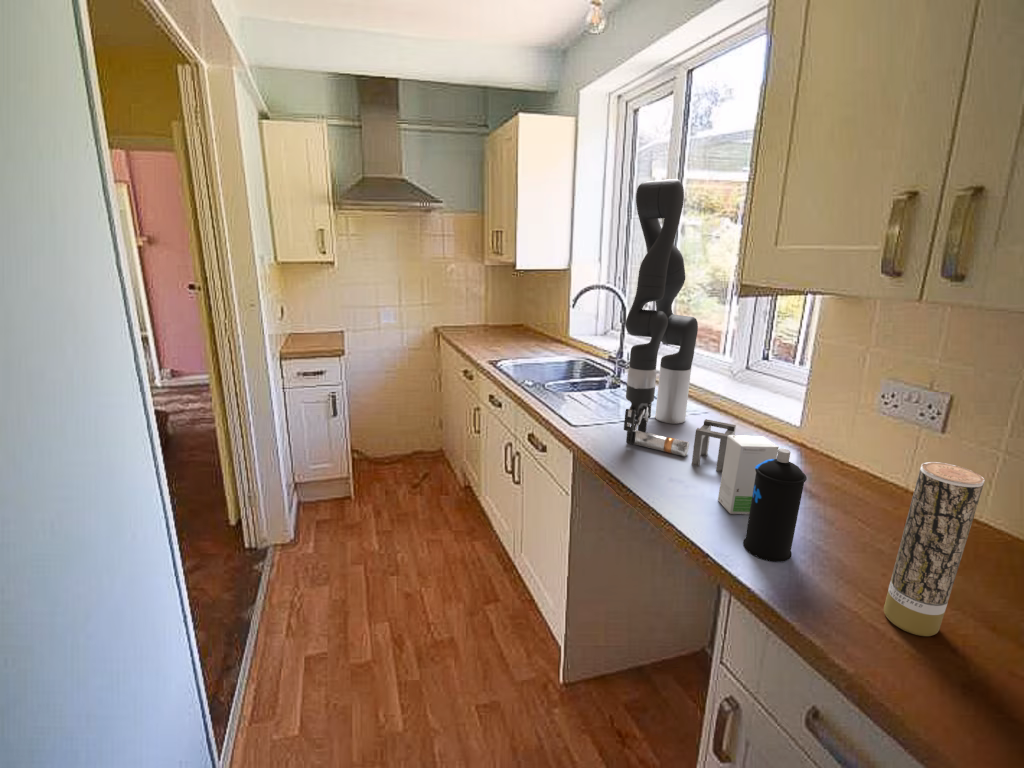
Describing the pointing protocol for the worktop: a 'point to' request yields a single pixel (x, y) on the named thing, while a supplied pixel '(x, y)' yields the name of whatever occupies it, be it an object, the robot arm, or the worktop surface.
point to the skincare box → (742, 470)
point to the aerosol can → (774, 508)
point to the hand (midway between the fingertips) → (636, 438)
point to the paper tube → (932, 546)
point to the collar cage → (703, 441)
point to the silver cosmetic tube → (661, 443)
